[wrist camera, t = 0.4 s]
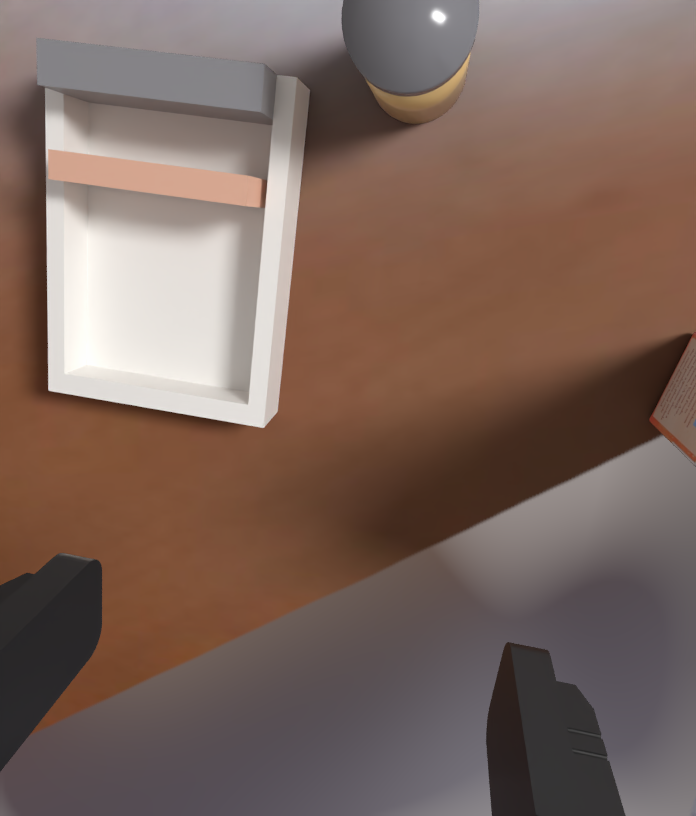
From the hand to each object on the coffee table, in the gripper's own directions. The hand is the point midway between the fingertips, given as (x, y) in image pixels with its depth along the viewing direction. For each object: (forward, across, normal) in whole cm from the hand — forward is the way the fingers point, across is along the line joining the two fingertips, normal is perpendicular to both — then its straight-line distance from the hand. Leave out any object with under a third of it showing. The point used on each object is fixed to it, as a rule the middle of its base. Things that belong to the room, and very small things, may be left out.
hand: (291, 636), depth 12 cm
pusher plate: (+25, +13, -8) cm, 29 cm away
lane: (+26, +13, -4) cm, 29 cm away
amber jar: (+26, +1, -15) cm, 30 cm away
